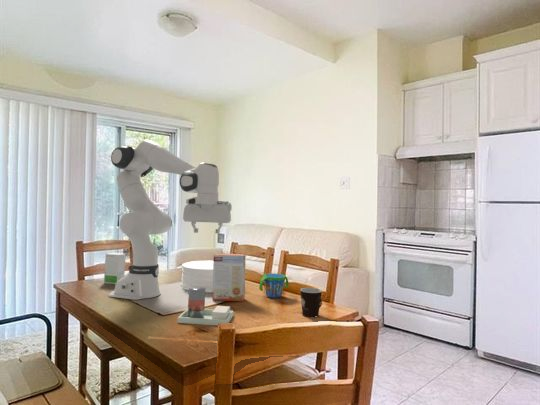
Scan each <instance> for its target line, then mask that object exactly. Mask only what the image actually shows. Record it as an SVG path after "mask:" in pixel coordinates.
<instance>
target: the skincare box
mask: <svg viewBox="0 0 540 405" xmlns="http://www.w3.org/2000/svg"><path fill="white" fill-rule="evenodd" d="M125 272H126V253H123V252H122V253H121V252H114V251H113V252H108V253H105V259H104V274H103V276H104V277H103V283H104V284H109V285H110V284H111V285H116V283H117V281H118V280H120V279H121V278H122V277H124V276H125Z"/></svg>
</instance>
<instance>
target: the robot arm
mask: <svg viewBox="0 0 540 405" xmlns="http://www.w3.org/2000/svg"><path fill="white" fill-rule="evenodd" d="M110 159H111V163H112V165H113V166H114V167H116V168H118V169H121V171H120V172H119V173H118V174H117V175H116V183H117V188H118V190H119V193H120V196H121V198H122V200H123V203H124V205H125V207H126V209H128V210H129V211H130V212H127V213H124V214H123V215H122V216H121V218H120V220H119V228H120V230H121V232H122V233H123V234H124V235H125V236H126V237H127V239H129V241H130V243H131V247H132V264H131V265H129V266H128V267H127V270H129V271H128V273H126V274H124V277H122V278H121V279H120V280H118V281H117V283H116V284H114V290H112V291H111V292H109V293H108V294H109V295H108V297H110V298H118V299H127V300H132V301H133V300H135V301H136V300H138V301H139V300H143V299H150V298H155V297H158V296H160V295H161V291H160V286H159V285H160V284H159V273H160V272H159V271H160V269H159V267H160V266H159V265H160V264H159V248H158V246H157V245H156V244H154V243H153V242H152V241H151V239H150V236H151V235H160V234H164V233H168V231H170V229H171V228H172V219H171V216H170V215H169V213H167V212H165V211H163V210H161V209H160V208H159V207H158V206H157V205H156V204H155V203H154V202H153V201H152V200H151V198H150V197H149V195H148V193H147V191H146V189H145V188H144V187H145V186H144V185H143V183H142V181H141V178H144V177H146V176H147V174H149V173H151V172H152V171H153V169H154V170H156V171H158V172H162V173H167V174H175V175H179V176H180V177H179V186H180V188H181V190H182V191H184V192H187V193H191V194H192V193H193V194H197V196H193V197H191V198H188V199H186V200H185V203H186V204H185V206H184V208H183V216H182V219H183V220H184V222H188V223H190V222H191V227H192V228H193V233H195V234H196V233H197V234H198V233H199V228H198V227H196V225H197V223H212V224H213V223H214V224H215V223H216V224H218V225H217V226H218V228H216V229H215V234H221V233H220V231H221V228H222V227H223V224H229V223H230V222H232V215H231V211H232V204H231V202H229V201H228V200H225V201H224V200H223V201H222V200H219V190H218V188H219V183H220V180H219V179H220V176H219V168H218V166H217V165H216V164H213V163H208V162H200V163H199V164H198V165H197V166H196V167H195V166H193V165H191V164H189V163H187V162H186V161H184V160H183V159H181V158H180V157H179V156H177V155H175V154H174V153H172V152H171V151H170V150H168V148H166V147H164V146H162V145H161V144H160V143H157V142H155V141H152V140H149V139H145V140H142V141H140V142H139V143H138V145H137V147H132V146H131V145H127V146H118V147H115V148H114V149H113V151H112V153H111V155H110Z"/></svg>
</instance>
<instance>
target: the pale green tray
mask: <svg viewBox="0 0 540 405" xmlns="http://www.w3.org/2000/svg"><path fill="white" fill-rule="evenodd" d="M213 310H214V309H213V308H212V309H209V308H205V309H204V318H188V308H187V309H185V310H184V311H183V312H182V313H180V315H179V316H178V317H177V324H188V325H189V324H191V325H192V324H193V325H206V326H219V325H218V324H219V323H228V324H229V323H230V322H231V320H232V318H234V310H230V314H229V316H228V317H227V319H226V320H221V319H212V311H213Z"/></svg>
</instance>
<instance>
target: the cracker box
mask: <svg viewBox="0 0 540 405" xmlns="http://www.w3.org/2000/svg"><path fill="white" fill-rule="evenodd" d="M246 255H247V254H245V253H228V252H227V253H225V252H224V253H223V252H221V253H219V252H217V253H215V254H213V261H214V262H213V292H212V301H221V300H223V302H224V301H225V302H240V303H241V302H243V301H244V300H245V298H246V296H245V294H246V293H245V292H246V291H245V290H246Z"/></svg>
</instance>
